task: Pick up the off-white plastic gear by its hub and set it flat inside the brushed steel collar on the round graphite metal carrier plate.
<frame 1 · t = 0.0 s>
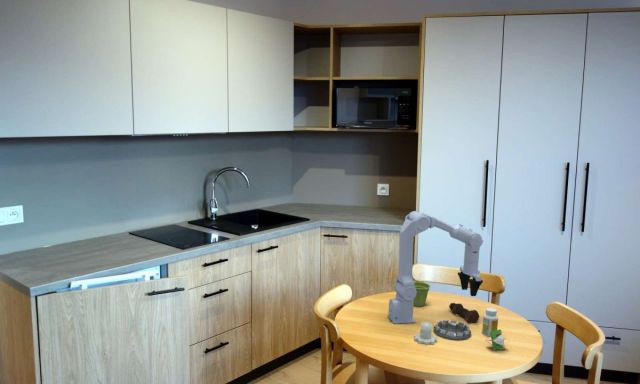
hand: (468, 292, 219), 10 cm above the table, tool pointing down, fingers open, 7 cm apart
plant pot: (418, 304, 233), on the table
planet gear: (425, 340, 195), on the table
bolt: (462, 317, 220), on the table
carrier: (452, 332, 203), on the table
supplement bottle: (489, 334, 203), on the table
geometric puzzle: (496, 348, 190), on the table
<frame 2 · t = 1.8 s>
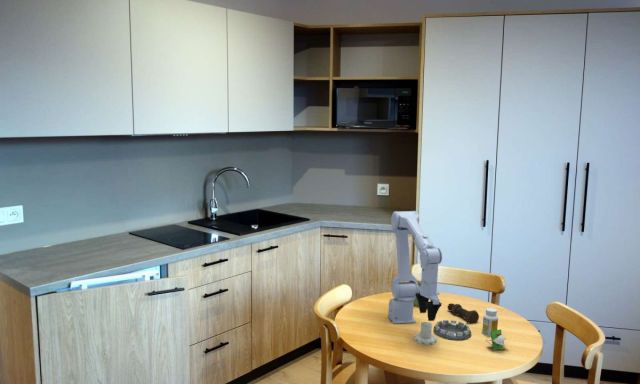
hand: (426, 316, 194), 9 cm above the table, tool pointing down, fingers open, 7 cm apart
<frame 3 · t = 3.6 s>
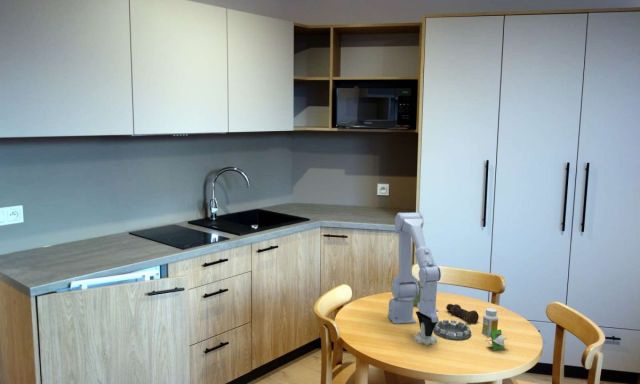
hand: (425, 333, 195), 3 cm above the table, tool pointing down, fingers closed on planet gear, 4 cm apart
planet gear: (425, 340, 195), on the table, touching gripper
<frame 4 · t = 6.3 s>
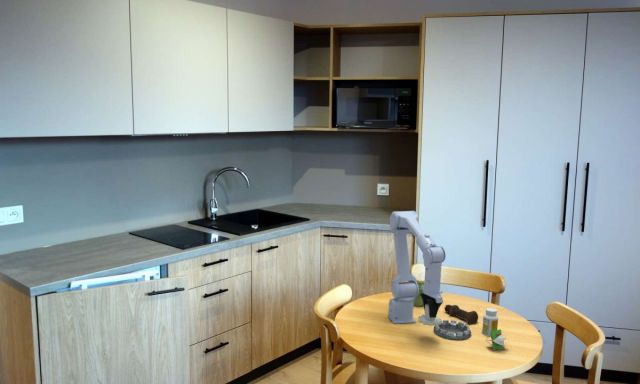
hand: (430, 315, 195), 9 cm above the table, tool pointing down, fingers closed on planet gear, 4 cm apart
planet gear: (429, 321, 195), point 7 cm above the table, touching gripper
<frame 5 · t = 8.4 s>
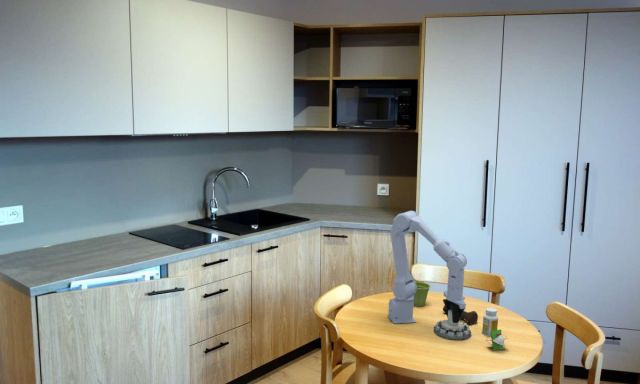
hand: (452, 320, 202), 5 cm above the table, tool pointing down, fingers closed on planet gear, 4 cm apart
planet gear: (452, 326, 202), point 2 cm above the table, touching gripper
when the fingers open (5 cm above the table, at t = 9.3 s): planet gear stays where it is, resting on carrier.
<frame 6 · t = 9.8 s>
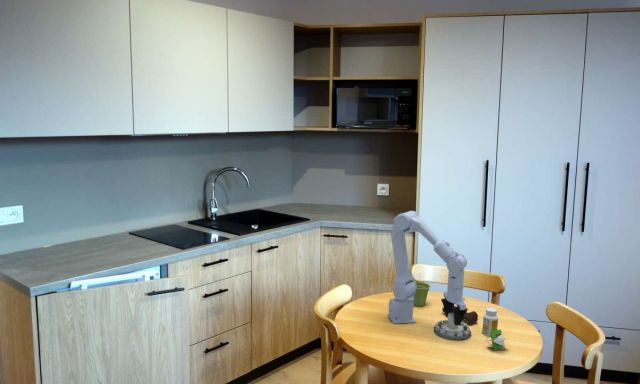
hand: (452, 321, 202), 5 cm above the table, tool pointing down, fingers open, 7 cm apart
planet gear: (452, 330, 203), point 1 cm above the table, touching carrier
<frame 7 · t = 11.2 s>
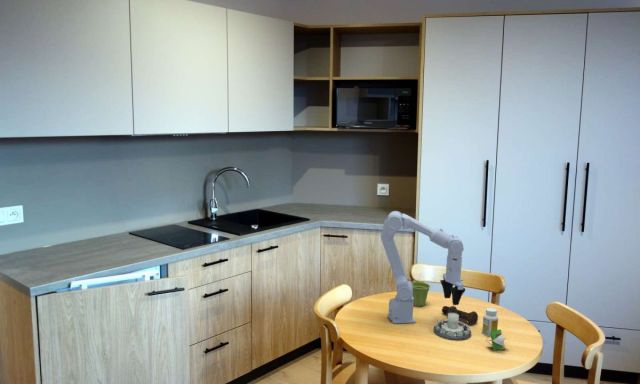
hand: (451, 301, 210), 9 cm above the table, tool pointing down, fingers open, 7 cm apart
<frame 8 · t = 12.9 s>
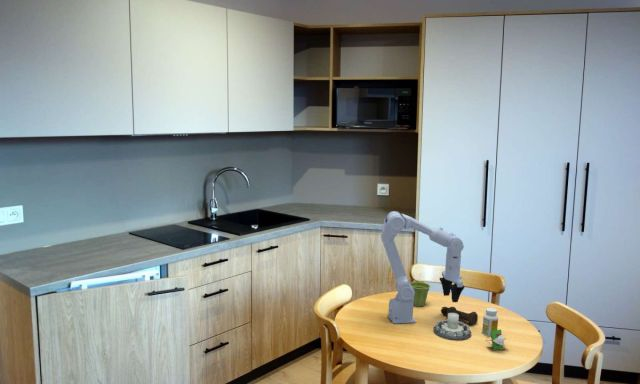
hand: (450, 298, 213), 9 cm above the table, tool pointing down, fingers open, 7 cm apart
at the end: planet gear 0.0 cm off-centre on the carrier, point 1.0 cm above the carrier's base; planet gear tilted 0°; the gripper is holding nothing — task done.
